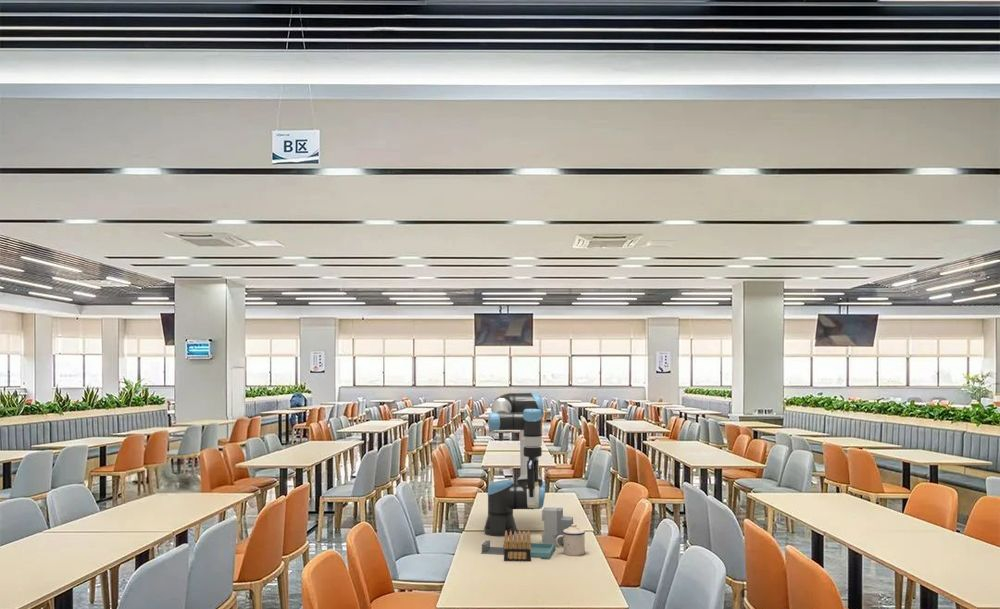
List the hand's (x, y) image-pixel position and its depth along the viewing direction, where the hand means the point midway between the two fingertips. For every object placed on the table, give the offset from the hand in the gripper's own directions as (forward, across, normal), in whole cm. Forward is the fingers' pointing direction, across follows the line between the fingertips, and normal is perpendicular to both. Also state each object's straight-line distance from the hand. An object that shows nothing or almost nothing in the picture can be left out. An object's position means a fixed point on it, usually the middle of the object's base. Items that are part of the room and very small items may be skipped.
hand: (533, 503), depth 308 cm
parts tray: (+20, 0, 0) cm, 20 cm away
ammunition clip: (+20, +13, -4) cm, 25 cm away
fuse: (+1, 0, 0) cm, 1 cm away
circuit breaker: (+20, -17, +8) cm, 28 cm away
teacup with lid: (+20, -3, +15) cm, 25 cm away
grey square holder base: (+20, 0, -16) cm, 25 cm away
